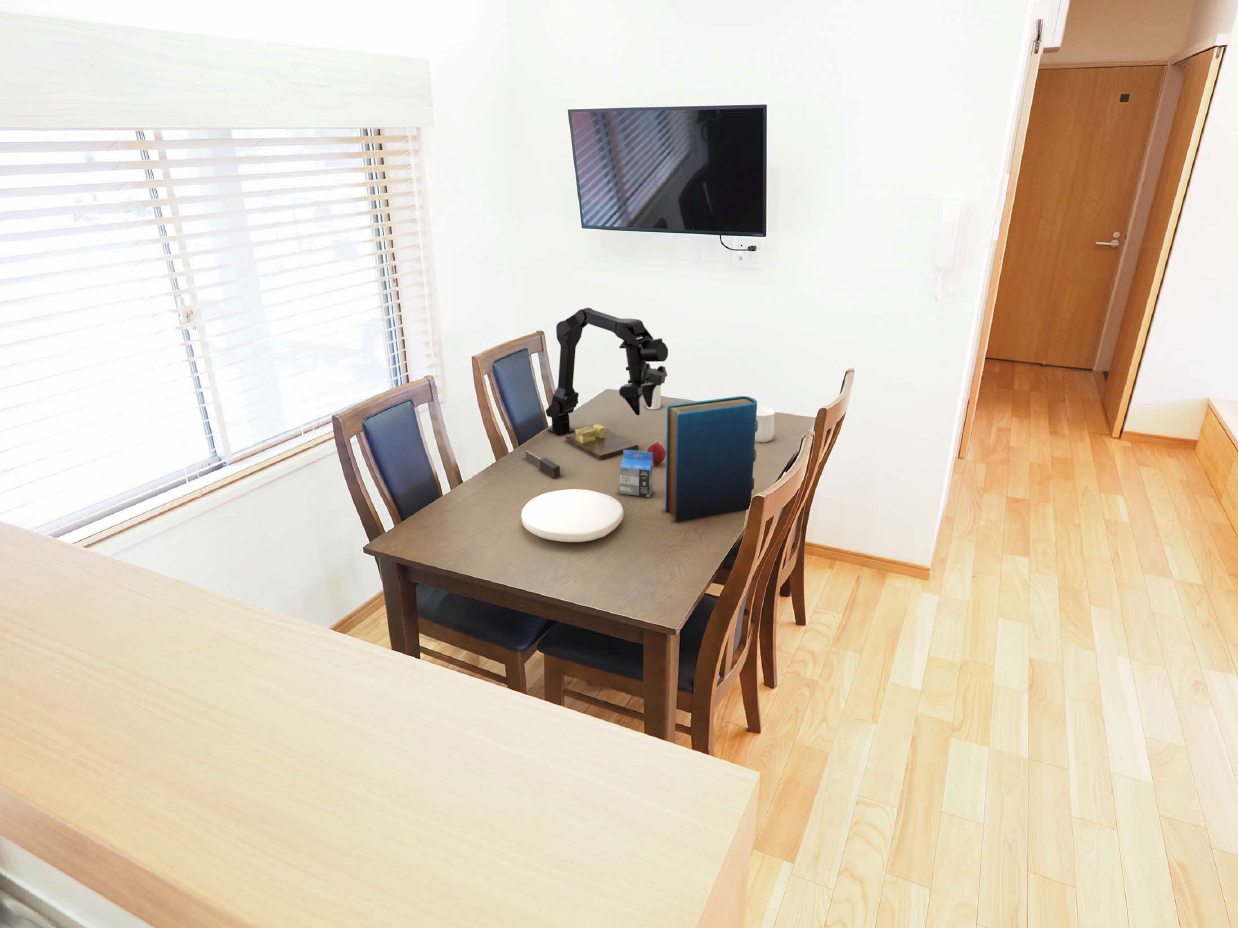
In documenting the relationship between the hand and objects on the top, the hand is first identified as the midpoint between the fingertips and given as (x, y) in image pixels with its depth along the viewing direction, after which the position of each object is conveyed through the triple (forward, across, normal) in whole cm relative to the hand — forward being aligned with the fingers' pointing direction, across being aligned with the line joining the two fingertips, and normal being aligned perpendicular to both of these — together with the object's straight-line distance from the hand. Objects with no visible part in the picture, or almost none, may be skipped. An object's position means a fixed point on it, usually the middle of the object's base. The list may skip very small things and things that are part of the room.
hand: (643, 411), depth 245 cm
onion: (+16, -6, -4) cm, 18 cm away
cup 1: (+10, +44, +17) cm, 48 cm away
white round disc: (+17, -51, +1) cm, 54 cm away
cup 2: (+18, +29, -27) cm, 44 cm away
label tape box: (+17, -27, -7) cm, 33 cm away
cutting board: (+12, +2, +18) cm, 22 cm away
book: (+21, -28, -29) cm, 45 cm away
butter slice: (+10, +6, +20) cm, 23 cm away
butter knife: (+11, -23, +26) cm, 36 cm away
